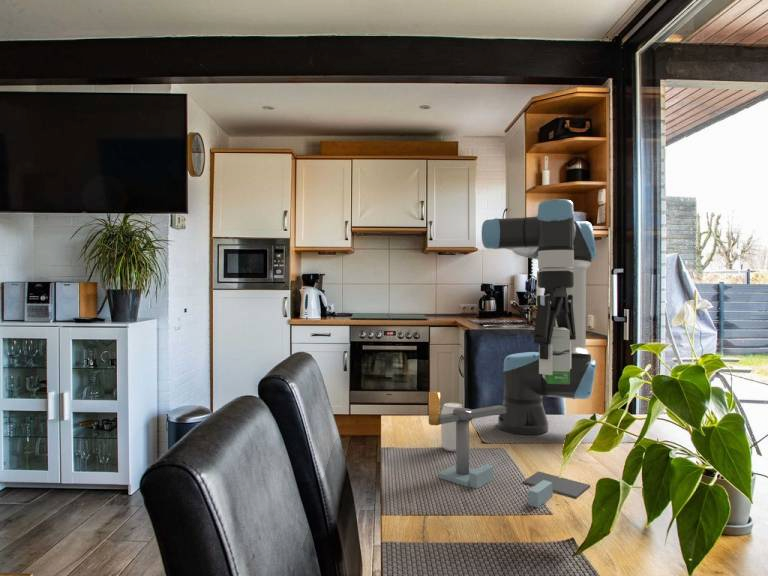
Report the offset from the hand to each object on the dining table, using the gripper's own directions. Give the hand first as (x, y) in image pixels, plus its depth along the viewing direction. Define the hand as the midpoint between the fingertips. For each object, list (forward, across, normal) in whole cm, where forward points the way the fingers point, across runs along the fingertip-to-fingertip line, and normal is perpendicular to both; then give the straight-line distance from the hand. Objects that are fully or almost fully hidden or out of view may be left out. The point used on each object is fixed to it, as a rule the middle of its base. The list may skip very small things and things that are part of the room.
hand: (555, 371), depth 110 cm
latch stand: (+25, +10, -10) cm, 29 cm away
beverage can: (+26, -5, -31) cm, 40 cm away
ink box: (+2, 0, 0) cm, 2 cm away
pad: (+25, 0, 0) cm, 25 cm away
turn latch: (+12, +8, -17) cm, 23 cm away
